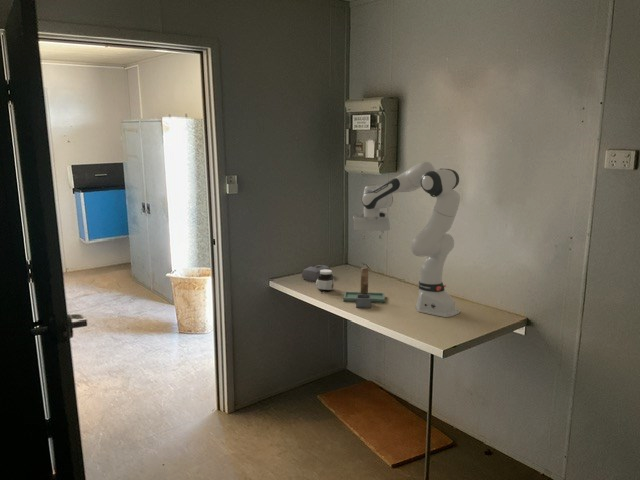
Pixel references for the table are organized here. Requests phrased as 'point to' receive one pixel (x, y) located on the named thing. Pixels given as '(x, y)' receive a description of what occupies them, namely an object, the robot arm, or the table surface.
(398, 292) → the table surface
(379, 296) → the tray
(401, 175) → the robot arm
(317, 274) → the soft grey pack
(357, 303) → the grey square sleeve
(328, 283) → the spread jar
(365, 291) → the dowel
